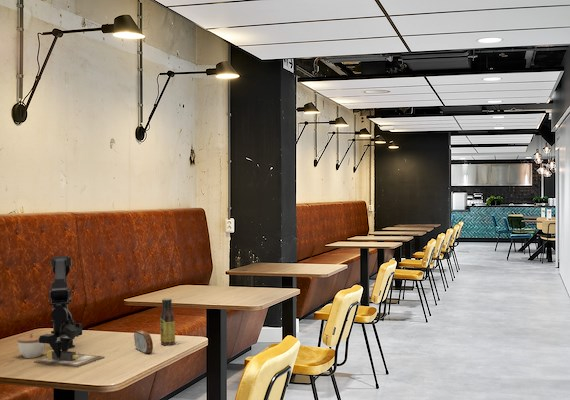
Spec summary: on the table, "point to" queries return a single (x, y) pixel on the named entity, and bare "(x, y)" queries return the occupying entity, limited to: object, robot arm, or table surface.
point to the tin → (143, 341)
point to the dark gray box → (62, 355)
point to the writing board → (75, 363)
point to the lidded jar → (30, 346)
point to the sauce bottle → (167, 323)
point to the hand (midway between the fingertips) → (61, 356)
